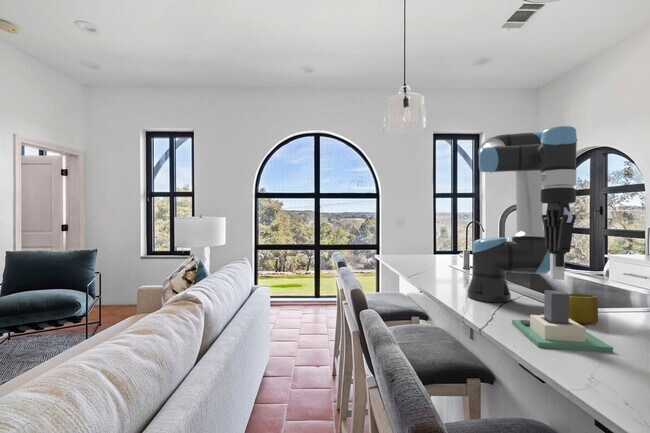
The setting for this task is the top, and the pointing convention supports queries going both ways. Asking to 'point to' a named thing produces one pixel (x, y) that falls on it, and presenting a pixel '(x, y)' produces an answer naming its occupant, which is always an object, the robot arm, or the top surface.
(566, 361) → the top surface
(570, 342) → the board
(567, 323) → the plug
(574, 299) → the mug
